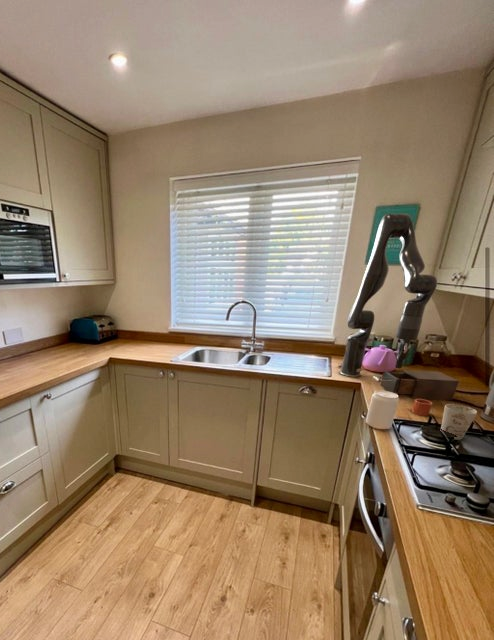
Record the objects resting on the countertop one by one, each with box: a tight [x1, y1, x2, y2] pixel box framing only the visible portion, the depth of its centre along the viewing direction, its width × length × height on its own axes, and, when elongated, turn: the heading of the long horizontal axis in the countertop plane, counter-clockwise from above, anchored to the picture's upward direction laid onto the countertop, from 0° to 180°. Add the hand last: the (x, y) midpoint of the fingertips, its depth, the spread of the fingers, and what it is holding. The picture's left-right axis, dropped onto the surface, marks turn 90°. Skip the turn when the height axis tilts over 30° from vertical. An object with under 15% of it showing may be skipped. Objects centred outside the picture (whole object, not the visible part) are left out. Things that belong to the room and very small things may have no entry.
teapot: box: [362, 344, 397, 373], centre depth 181 cm, size 22×22×14 cm
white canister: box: [365, 390, 400, 430], centre depth 116 cm, size 8×8×12 cm
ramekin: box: [411, 398, 433, 417], centre depth 129 cm, size 6×6×5 cm
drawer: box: [372, 371, 417, 395], centre depth 150 cm, size 21×12×7 cm, turn 83°
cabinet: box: [401, 369, 460, 401], centre depth 149 cm, size 16×14×9 cm
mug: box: [440, 403, 478, 441], centre depth 111 cm, size 8×13×10 cm, turn 135°
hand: (397, 367), depth 141 cm, fingers closed
